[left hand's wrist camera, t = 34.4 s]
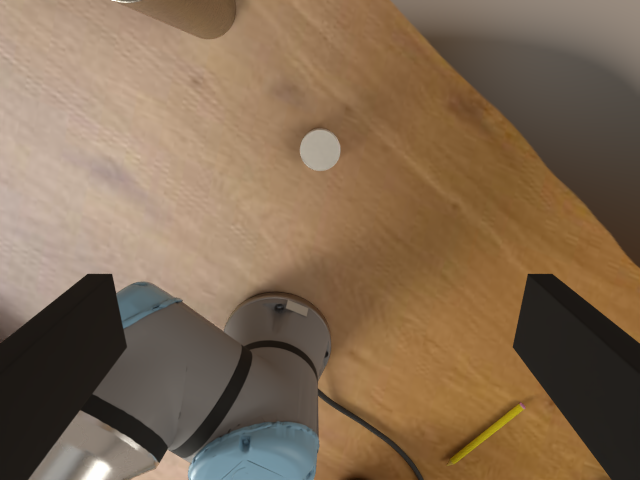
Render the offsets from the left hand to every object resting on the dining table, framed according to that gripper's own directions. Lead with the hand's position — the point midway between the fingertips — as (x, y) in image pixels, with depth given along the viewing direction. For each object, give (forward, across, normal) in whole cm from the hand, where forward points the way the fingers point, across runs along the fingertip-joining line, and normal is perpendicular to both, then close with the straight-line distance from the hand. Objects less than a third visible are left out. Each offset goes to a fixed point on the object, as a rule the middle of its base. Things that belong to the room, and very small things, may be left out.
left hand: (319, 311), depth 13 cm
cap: (+36, 0, 0) cm, 36 cm away
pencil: (+37, -26, +45) cm, 64 cm away
